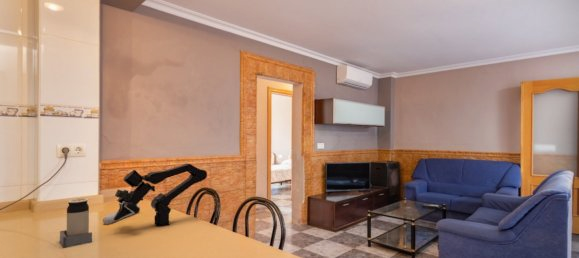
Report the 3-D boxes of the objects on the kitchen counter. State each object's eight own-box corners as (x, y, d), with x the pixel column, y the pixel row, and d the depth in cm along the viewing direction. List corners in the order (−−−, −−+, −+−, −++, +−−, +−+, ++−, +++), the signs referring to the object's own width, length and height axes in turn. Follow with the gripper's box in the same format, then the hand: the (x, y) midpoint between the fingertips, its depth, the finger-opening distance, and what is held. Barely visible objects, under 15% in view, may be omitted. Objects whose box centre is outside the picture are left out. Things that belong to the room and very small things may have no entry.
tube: (110, 217, 157) (141, 206, 182) (101, 214, 158) (133, 203, 183) (107, 227, 158) (138, 214, 182) (99, 224, 158) (130, 211, 183)
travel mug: (92, 239, 136) (93, 198, 137) (75, 245, 129) (75, 202, 129) (80, 237, 139) (80, 197, 139) (62, 243, 131) (62, 201, 132)
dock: (87, 235, 142) (87, 226, 142) (92, 242, 132) (92, 232, 132) (59, 240, 135) (59, 231, 135) (62, 248, 125) (62, 238, 126)
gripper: (121, 181, 154) (96, 206, 147) (131, 185, 140) (104, 213, 133) (138, 194, 159) (114, 219, 152) (150, 199, 145) (124, 228, 138)
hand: (114, 220), depth 143 cm, fingers closed
